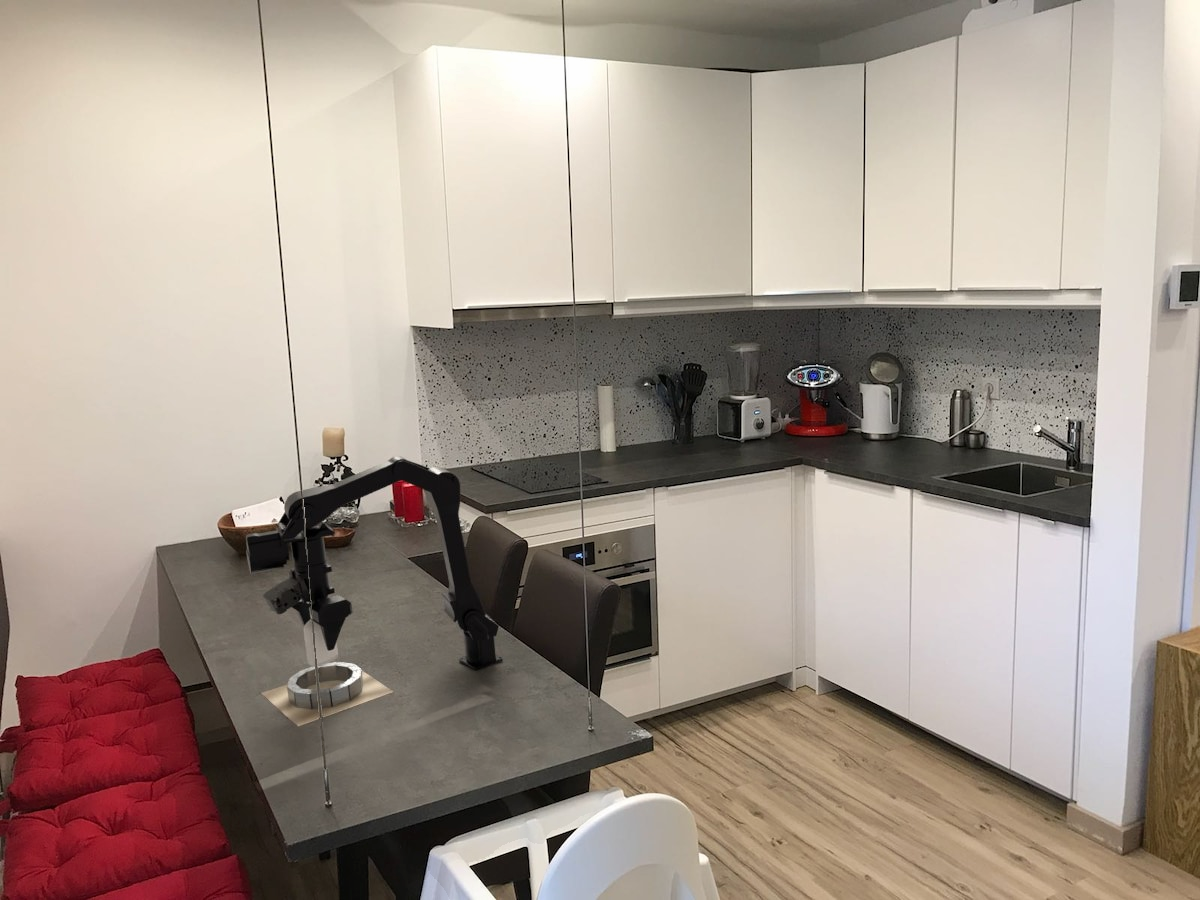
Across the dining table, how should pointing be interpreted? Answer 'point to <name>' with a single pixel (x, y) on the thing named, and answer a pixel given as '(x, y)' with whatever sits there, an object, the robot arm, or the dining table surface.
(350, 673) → the steel collar
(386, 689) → the birch board
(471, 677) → the dining table surface
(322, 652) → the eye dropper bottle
